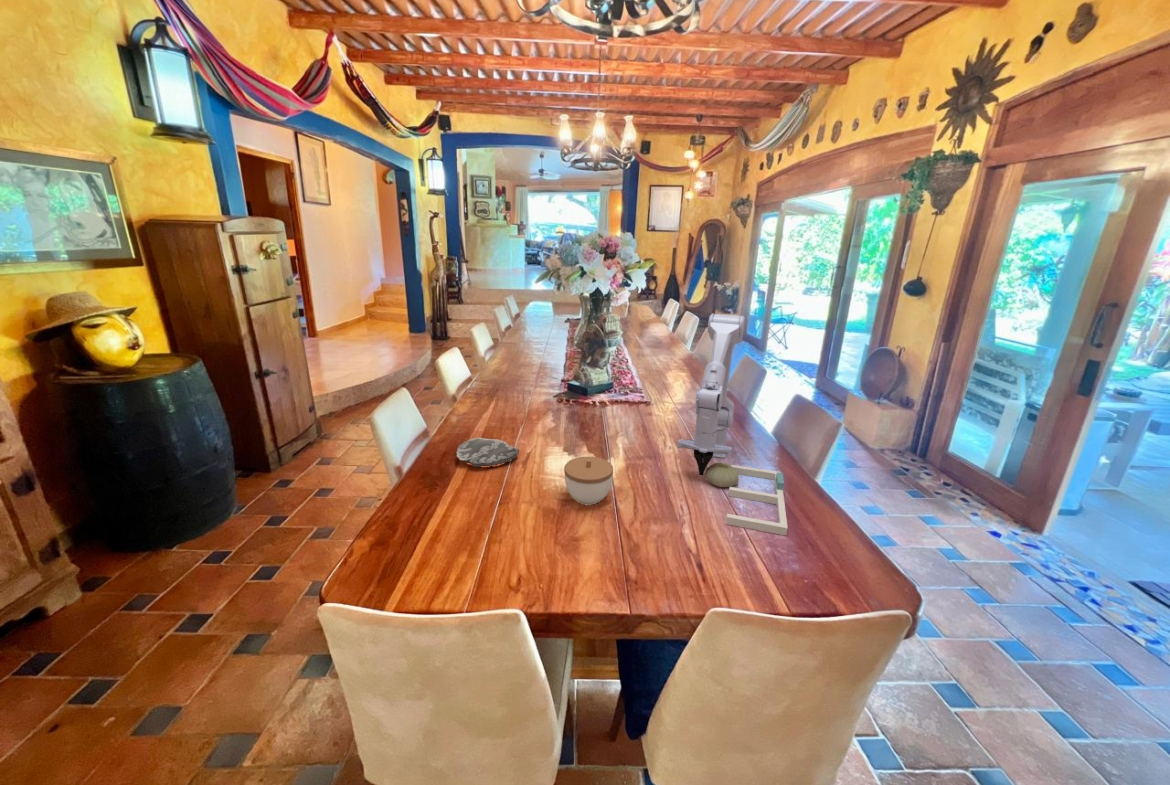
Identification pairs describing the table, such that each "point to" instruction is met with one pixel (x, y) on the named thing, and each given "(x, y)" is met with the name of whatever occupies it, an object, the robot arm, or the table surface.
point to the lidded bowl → (588, 479)
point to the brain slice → (486, 452)
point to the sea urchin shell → (721, 475)
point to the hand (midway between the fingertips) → (701, 473)
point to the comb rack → (762, 497)
